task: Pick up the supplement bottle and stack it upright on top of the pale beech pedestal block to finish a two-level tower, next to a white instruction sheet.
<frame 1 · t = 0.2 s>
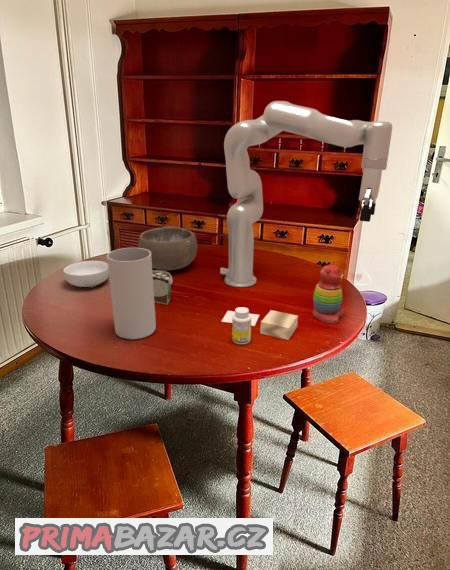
hand: (366, 217, 141), 31 cm above the table, fingers open, 9 cm apart
pedestal: (279, 330, 135), on the table
bowl: (169, 267, 186), on the table
cylinder vase: (135, 330, 134), on the table
food container: (161, 299, 156), on the table
cereal bowl: (88, 284, 168), on the table
supplement bottle: (241, 341, 129), on the table
stacking bear: (326, 315, 145), on the table
instruction sheet: (240, 318, 142), on the table
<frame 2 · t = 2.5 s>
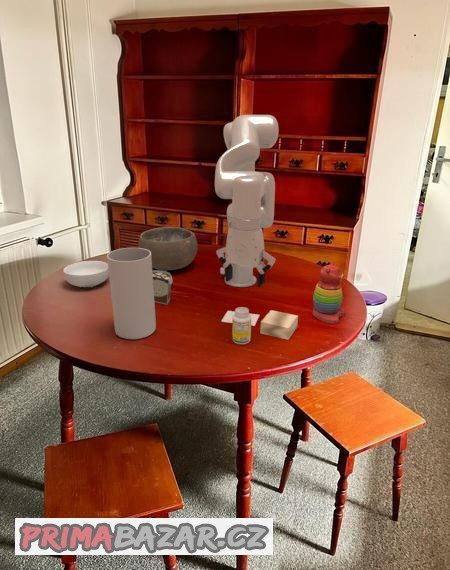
hand: (244, 282, 122), 19 cm above the table, fingers open, 9 cm apart
nothing on the table moved.
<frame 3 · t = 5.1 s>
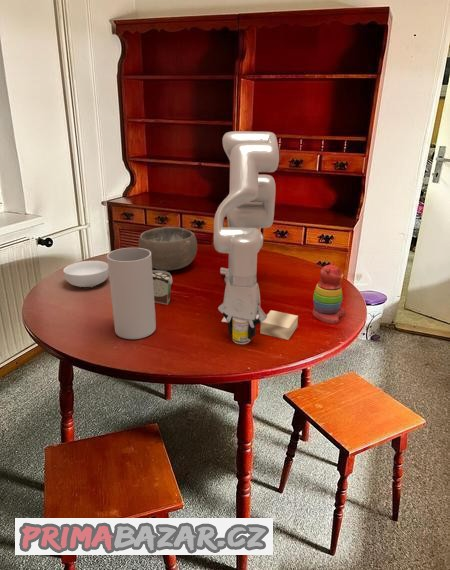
hand: (241, 334, 128), 2 cm above the table, fingers closed on supplement bottle, 5 cm apart
supplement bottle: (241, 341, 129), on the table, touching gripper
everything else where it was.
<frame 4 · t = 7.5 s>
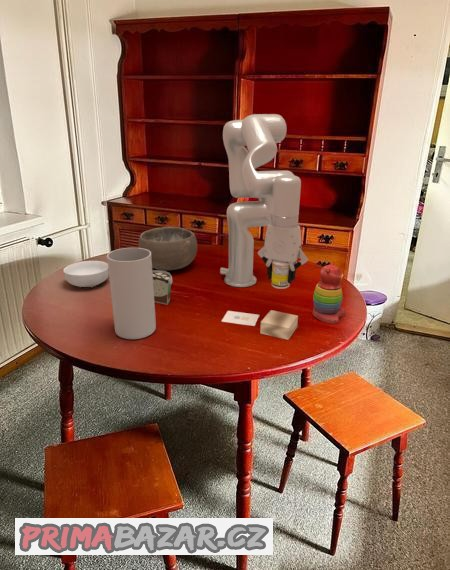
hand: (280, 279, 128), 17 cm above the table, fingers closed on supplement bottle, 5 cm apart
supplement bottle: (280, 286, 129), point 15 cm above the table, touching gripper
everything else where it was.
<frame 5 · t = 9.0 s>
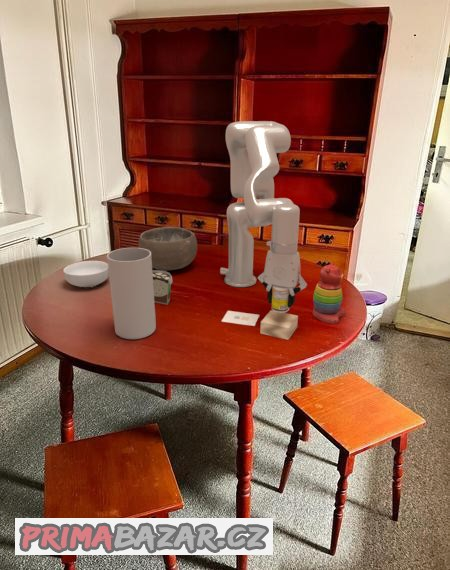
hand: (280, 303, 131), 9 cm above the table, fingers closed on supplement bottle, 5 cm apart
supplement bottle: (280, 310, 132), point 7 cm above the table, touching gripper
everything else where it was.
when the fingers open (7 cm above the table, at t = 10.2 s): supplement bottle drops 1 cm, resting on pedestal.
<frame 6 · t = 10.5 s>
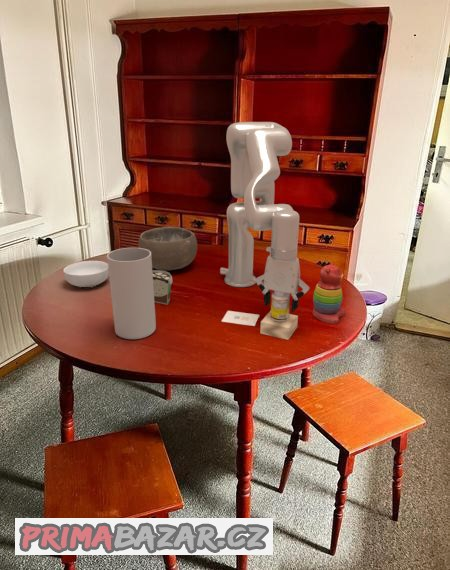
hand: (280, 307, 132), 8 cm above the table, fingers open, 8 cm apart
supplement bottle: (279, 319, 133), point 4 cm above the table, touching pedestal
everything else where it was.
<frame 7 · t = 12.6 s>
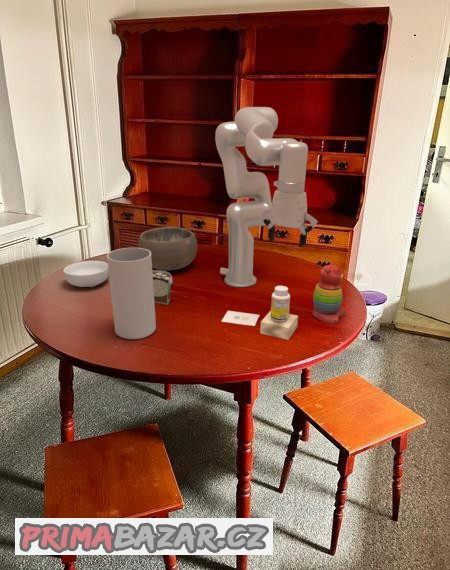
hand: (286, 243, 131), 26 cm above the table, fingers open, 9 cm apart
nothing on the table moved.
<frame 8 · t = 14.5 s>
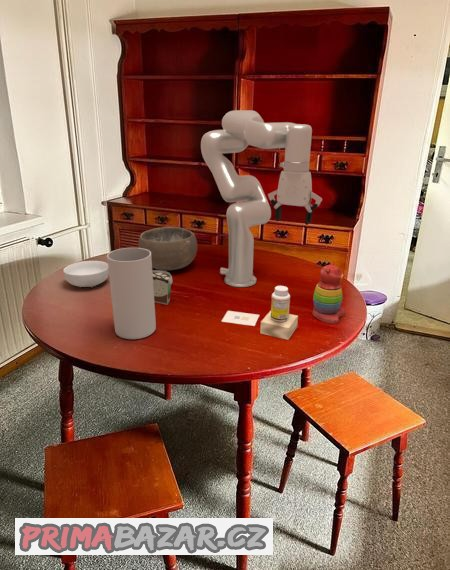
hand: (292, 222, 138), 30 cm above the table, fingers open, 9 cm apart
nothing on the table moved.
at the end: supplement bottle 0.2 cm from the pedestal (horizontally); supplement bottle point 3.8 cm above the table; supplement bottle tilted 1° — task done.
